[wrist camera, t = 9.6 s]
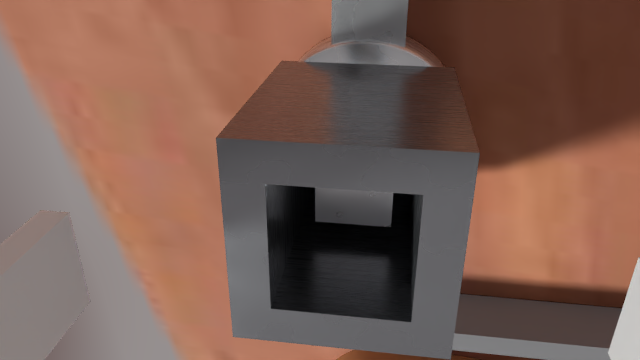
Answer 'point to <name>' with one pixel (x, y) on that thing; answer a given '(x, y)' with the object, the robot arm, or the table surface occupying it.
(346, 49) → the ratchet
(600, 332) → the bar
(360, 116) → the socket
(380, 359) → the tan slotted hollow cylinder
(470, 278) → the table surface
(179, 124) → the table surface
